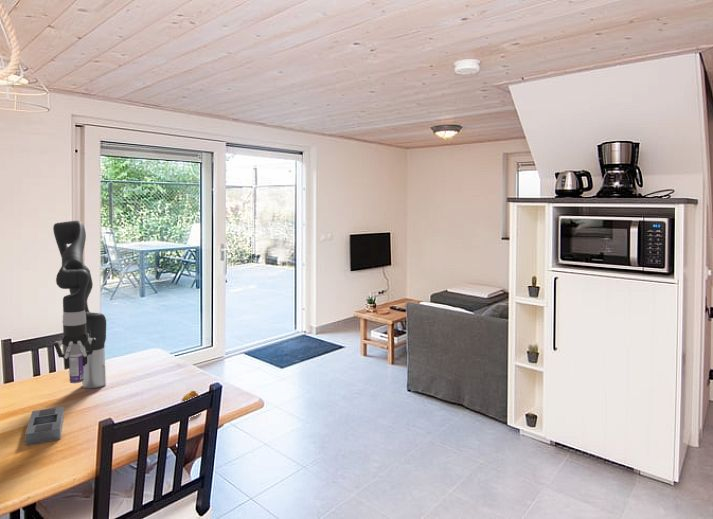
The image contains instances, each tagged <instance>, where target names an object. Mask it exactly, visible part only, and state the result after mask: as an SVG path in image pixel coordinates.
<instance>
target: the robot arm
mask: <svg viewBox="0 0 713 519" xmlns="http://www.w3.org/2000/svg"><path fill="white" fill-rule="evenodd" d="M52 228H53V235H54V239H55V242H56V244H57V248H58V251H59V255H60V257H61V267H60V269H59V270H58V272H57V274H56V278H55V282H56V285H57V287H58V288H60V289H63V290H69V294H65V295H64V296H63V298H62V309H63V310H62V313H63V314H62V333H63V337H62V339H61V340H56V341H54V342H53V343H54V344H53V345H54V349H55V351H56V353H57V356H58V358H63V360H64V367H66V368H67V369H69V353H70V350H71V346H72V344H75V343H78V344H79V345H80V350H81V352H82V354H83V367H84V381H83V382H81V383H82V387H83V388H84V389H97V388H100V387H104V386H106V384H107V382H106V381H107V378H106V377H107V376H106V375H107V374H106V355H105V354H106V351H105V350H106V348H105V344H106V340H107V319H106V316H105V314H103V313H100V312H91V311H90V310H89V306H88V305H89V304H88V300H89V297H90V294H91V292H92V290H93V285H94V284H93V279H92V275H91V274H92V273H91V271H90V269H89V267H88V266H87V265H85V264H84V259H83V256H84V255H83V254H84V249H85V245H86V238H87V236H86V235H87V234H86V228H85V225H84V223H83V222H82V221H80V220H69V221H62V222H56V223H54V224H53V227H52ZM68 245H69V246H68ZM87 334H90V335H89V337H88V335H87ZM62 344H63V345H64V346H65V347H66V350H65V353H63V350H62V348H61V347H62Z"/></svg>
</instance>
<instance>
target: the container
mask: <svg viewBox="0 0 713 519" xmlns="http://www.w3.org/2000/svg"><path fill="white" fill-rule="evenodd" d="M68 357H69V368H68V369H69V370H68V372H69V383H70V384H80V383H82V382H83V381H84V367H83V354H82V352H81V350H80V345H79V344H78V343H75V344H72V346H71V350H70V353H69V356H68Z"/></svg>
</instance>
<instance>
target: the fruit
mask: <svg viewBox="0 0 713 519" xmlns="http://www.w3.org/2000/svg"><path fill="white" fill-rule="evenodd" d="M198 395H199V393H198V392H197V391H196V390H195V391H194V390H192V391H190V392H187V393H186V394H185V395H184V396H183V397H182V398H181V402H182V401H185V400H188V399H190V398H193V397H195V396H198ZM199 396H200V395H199ZM181 402H180V403H181Z"/></svg>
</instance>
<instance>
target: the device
mask: <svg viewBox="0 0 713 519" xmlns="http://www.w3.org/2000/svg"><path fill="white" fill-rule="evenodd" d="M64 408H65V407H64V406H58V407H52V408H44V409H39V410H33V411H31V414H30V419H29V421H28V424H27V427H26V430H25V433H24V436H25V438H24V439H25V446H31V445H36V444H37V445H38V444H43V443H48V442H53V441H58V440H61V436H62V430H63V424H64V418H65V412H64V410H65V409H64Z"/></svg>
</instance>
